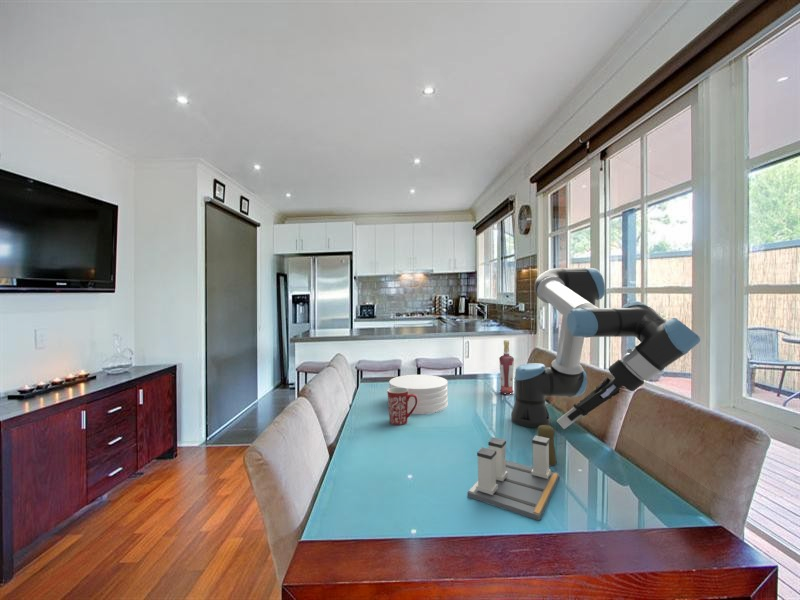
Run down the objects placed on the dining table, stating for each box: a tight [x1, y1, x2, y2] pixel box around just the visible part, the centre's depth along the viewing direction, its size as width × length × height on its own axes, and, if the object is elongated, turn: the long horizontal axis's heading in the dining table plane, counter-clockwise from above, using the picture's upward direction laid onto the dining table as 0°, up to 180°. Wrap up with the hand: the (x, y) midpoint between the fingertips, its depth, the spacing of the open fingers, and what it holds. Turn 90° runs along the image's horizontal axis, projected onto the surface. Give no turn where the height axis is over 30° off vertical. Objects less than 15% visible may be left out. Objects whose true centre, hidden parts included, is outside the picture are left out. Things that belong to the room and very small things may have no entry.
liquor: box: [498, 340, 515, 395], centre depth 188 cm, size 7×7×28 cm
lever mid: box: [487, 436, 508, 481], centre depth 100 cm, size 4×4×10 cm
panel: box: [467, 459, 560, 522], centre depth 97 cm, size 18×23×1 cm
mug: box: [386, 387, 417, 426], centre depth 147 cm, size 13×9×14 cm
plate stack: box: [388, 374, 449, 415], centre depth 171 cm, size 28×28×12 cm
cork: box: [536, 425, 557, 467], centre depth 112 cm, size 6×6×11 cm
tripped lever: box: [531, 435, 552, 479], centre depth 101 cm, size 4×4×10 cm
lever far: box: [476, 447, 498, 495], centre depth 93 cm, size 4×4×10 cm
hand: (560, 424), depth 98 cm, fingers closed
